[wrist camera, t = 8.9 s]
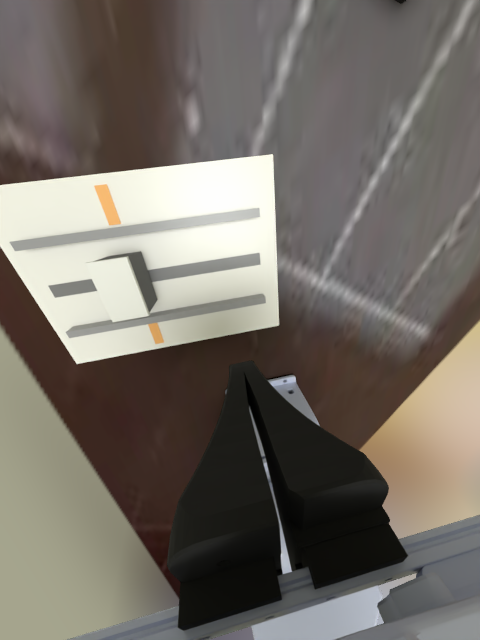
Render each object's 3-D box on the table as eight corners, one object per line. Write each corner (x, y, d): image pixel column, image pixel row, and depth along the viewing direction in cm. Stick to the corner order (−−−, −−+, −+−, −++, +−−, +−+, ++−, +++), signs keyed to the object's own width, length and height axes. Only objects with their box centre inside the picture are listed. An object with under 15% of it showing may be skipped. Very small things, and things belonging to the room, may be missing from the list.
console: (265, 162, 16) (277, 149, 13) (273, 317, 22) (282, 330, 19) (-7, 193, 14) (-56, 186, 11) (87, 351, 20) (70, 370, 18)
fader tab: (141, 250, 15) (126, 257, 12) (158, 300, 17) (148, 315, 14) (107, 255, 15) (84, 263, 12) (128, 305, 17) (112, 322, 14)
